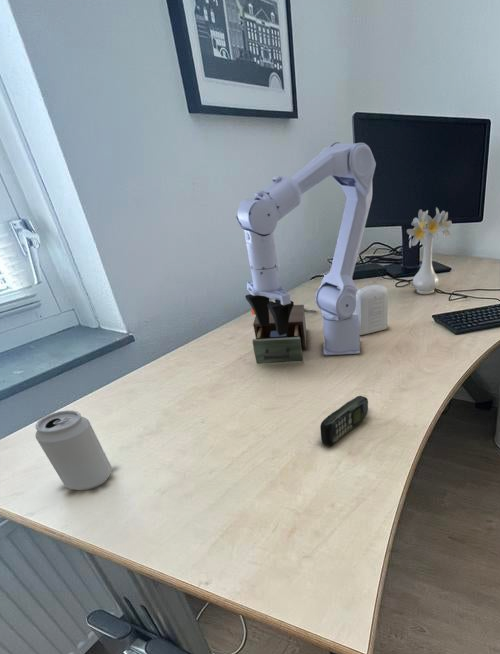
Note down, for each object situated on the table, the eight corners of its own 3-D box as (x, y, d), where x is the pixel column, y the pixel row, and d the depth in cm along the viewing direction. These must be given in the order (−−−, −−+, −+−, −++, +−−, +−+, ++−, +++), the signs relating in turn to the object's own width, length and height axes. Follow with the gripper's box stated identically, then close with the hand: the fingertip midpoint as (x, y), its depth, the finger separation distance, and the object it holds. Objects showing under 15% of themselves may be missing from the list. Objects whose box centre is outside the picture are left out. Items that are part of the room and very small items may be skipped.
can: (77, 467, 77) (44, 408, 70) (120, 464, 78) (92, 405, 70) (57, 495, 71) (19, 434, 64) (104, 492, 72) (71, 431, 64)
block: (288, 345, 113) (286, 330, 111) (288, 351, 110) (285, 336, 108) (273, 346, 113) (270, 331, 111) (272, 352, 110) (269, 336, 107)
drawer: (302, 368, 105) (299, 345, 101) (254, 371, 104) (250, 348, 100) (303, 342, 118) (301, 320, 114) (261, 344, 117) (257, 322, 113)
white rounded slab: (381, 325, 129) (381, 281, 121) (389, 329, 126) (390, 284, 119) (352, 332, 125) (350, 287, 117) (360, 337, 122) (358, 291, 114)
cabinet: (305, 350, 116) (302, 321, 111) (258, 352, 115) (253, 323, 110) (306, 331, 126) (303, 304, 121) (262, 333, 125) (258, 306, 121)
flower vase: (400, 298, 148) (403, 214, 133) (414, 283, 162) (418, 205, 146) (438, 302, 145) (445, 215, 129) (449, 286, 158) (457, 206, 142)
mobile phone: (329, 427, 77) (373, 391, 87) (315, 422, 79) (361, 387, 88) (331, 449, 81) (374, 412, 90) (318, 445, 82) (362, 408, 91)
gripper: (230, 263, 94) (242, 325, 103) (266, 276, 86) (276, 342, 94) (258, 258, 98) (267, 318, 106) (295, 269, 89) (302, 334, 98)
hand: (273, 329), depth 101 cm, fingers open, 7 cm apart
